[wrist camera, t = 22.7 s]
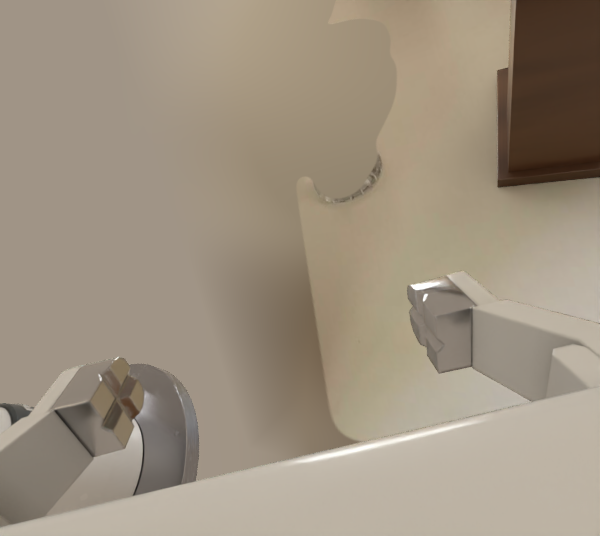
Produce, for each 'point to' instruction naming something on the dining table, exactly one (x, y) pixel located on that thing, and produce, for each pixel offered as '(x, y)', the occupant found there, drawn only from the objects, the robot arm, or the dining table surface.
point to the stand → (550, 93)
